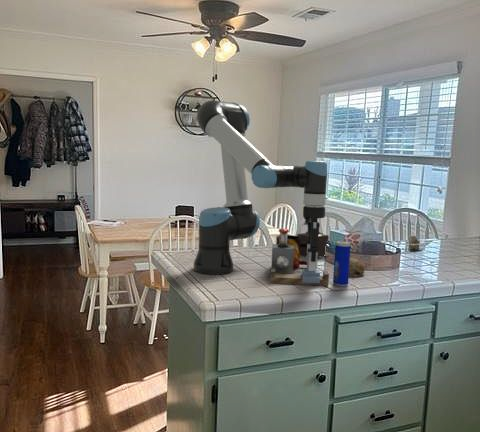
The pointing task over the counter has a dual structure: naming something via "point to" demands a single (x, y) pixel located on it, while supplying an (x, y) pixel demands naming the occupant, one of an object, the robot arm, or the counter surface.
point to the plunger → (283, 237)
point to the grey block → (282, 259)
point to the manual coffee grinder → (321, 242)
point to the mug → (295, 249)
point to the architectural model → (413, 243)
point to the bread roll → (355, 268)
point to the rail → (296, 278)
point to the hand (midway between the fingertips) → (311, 266)
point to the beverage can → (341, 263)
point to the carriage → (310, 273)
